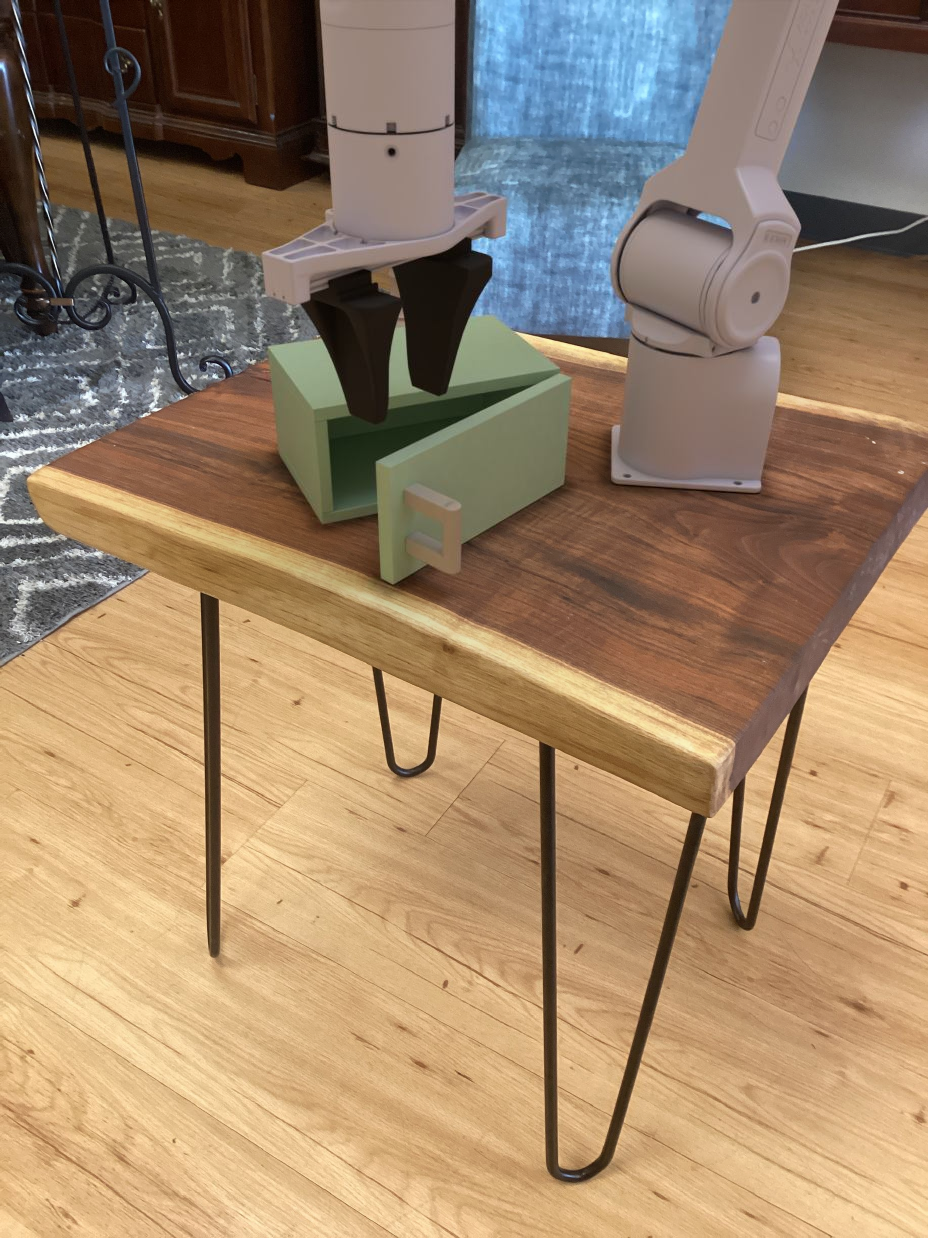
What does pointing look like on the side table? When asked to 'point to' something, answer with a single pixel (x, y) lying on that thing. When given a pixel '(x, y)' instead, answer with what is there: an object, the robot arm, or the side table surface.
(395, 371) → the cabinet
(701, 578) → the side table surface
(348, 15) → the robot arm
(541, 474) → the door
